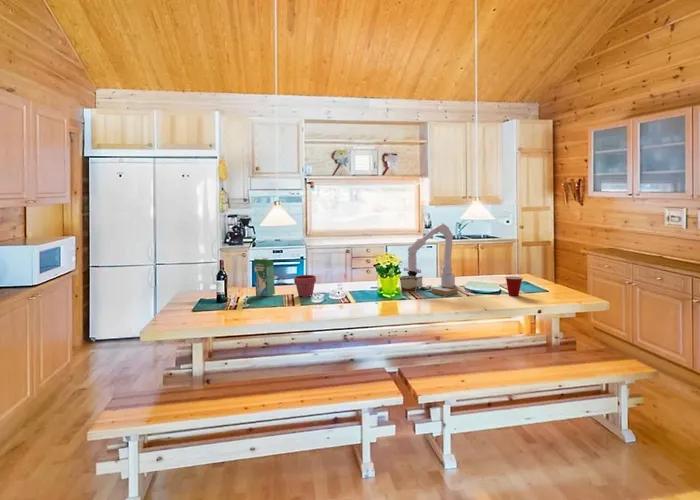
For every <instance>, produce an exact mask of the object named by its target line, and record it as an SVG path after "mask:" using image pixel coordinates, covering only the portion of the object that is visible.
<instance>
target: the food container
mask: <svg viewBox="0 0 700 500" xmlns="http://www.w3.org/2000/svg"><path fill="white" fill-rule="evenodd" d="M417 277H418V276H417V275H416V276H409V275H402V276H400V277H399V279H400V280H399V281H400V289H401V293H416V292H417V291H416V290H417V288H416V284H417V280H418V279H417Z"/></svg>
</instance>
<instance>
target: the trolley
mask: <svg viewBox="0 0 700 500" xmlns="http://www.w3.org/2000/svg"><path fill="white" fill-rule="evenodd" d="M416 277H417V279H418V280H417V284H416V290H418V289H419V288H420V289H422V290H423V291H424V290H426V289H432V288H433V287H432V285H431V284H428V283H427V284H426V283H423V276H422V275H421V276H416Z"/></svg>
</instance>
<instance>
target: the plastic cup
mask: <svg viewBox="0 0 700 500" xmlns="http://www.w3.org/2000/svg"><path fill="white" fill-rule="evenodd" d="M504 278H505V281H506V287H507V294H508V296H509V297H519V294H520V291H521V286H522V281H523V278H524V277H522V276H513V275H512V276H504Z"/></svg>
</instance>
